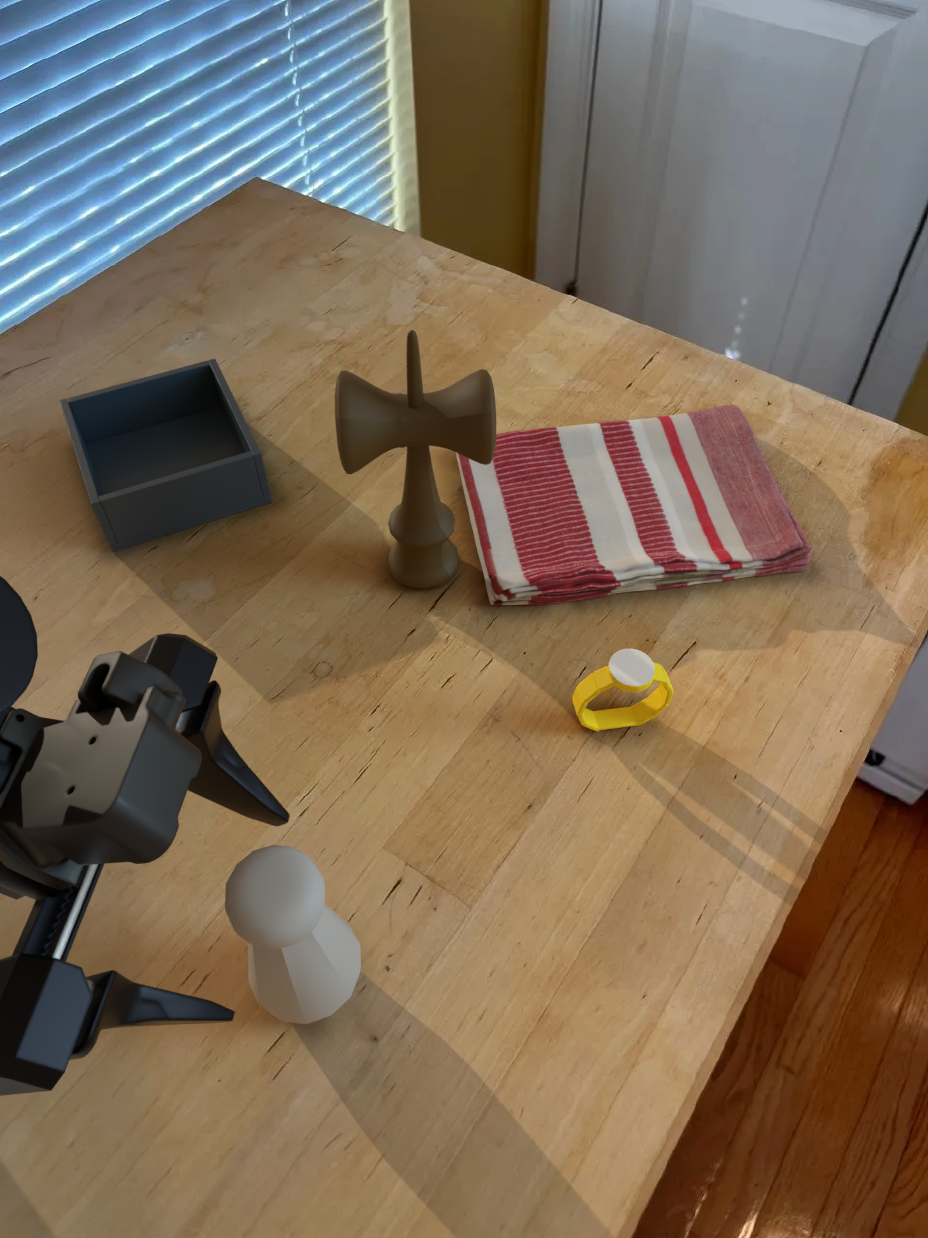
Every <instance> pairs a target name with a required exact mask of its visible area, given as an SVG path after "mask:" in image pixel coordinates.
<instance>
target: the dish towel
mask: <svg viewBox="0 0 928 1238" xmlns="http://www.w3.org/2000/svg"><path fill="white" fill-rule="evenodd" d="M454 453H455V457H456V461H457V465H458V469H459V475H460V480H461V485H462V490H463V494H464V498H465V502H466V503H465V504H466V507H467V510H468V515H469V520H470V525H471V529H472V532H473V538H474V543H475V546H476V550H477V555H478V559H479V562H480V566H481V569H482V574H483V578H484V583H485V587H486V588H485V589H486V593H487V597H488V601H489V604H490V605H492V606H518V605H519V606H520V605H528V606H531V605H536V606H537V605H538V606H539V605H550V604H559V603H567V602H575V601H583V600H591V599H597V598H603V597H607V596H610V595H615V594H618V593H629V592H630V593H631V592H643V591H644V592H645V591H653V590H654V591H655V590H665V589H672V588H679V587H681V588H682V587H688V586H692V585H700V584H709V583H717V582H718V583H719V582H726V581H732V580H737V579H746V578H751V577H764V576H770V575H775V574H784V573H798V572H804V571H807V569H808V565H807V564H809V562H810V560H809V557H810V555H812V552H811V550H812V549H813V546H812V545H811V544H810V542H809V539H807V536H806V534H805V533H804V531H803V528H802V527H801V525H800V524H799V522H798V521H797V518H796V517H795V515H794V513H793V512H792V510H791V508H790V507H789V505H788V503H787V502H786V500H785V498H784V496H783V494H782V492H781V491H780V489H779V486H778V484H777V482H776V480H775V478H774V476H773V475H772V473H771V471H770V469H769V466H768V464H767V463H766V460H765V458H764V455H763V453H762V450H761V448H760V446H759V444H758V441H757V438H756V436H755V434H754V431H753V429H752V426H751V425H750V423H749V421H748V419H747V417H746V415H745V414H744V412H743V411H742V409H741V408H740V407H739V405H737V404H725V405H720V406H715V407H711V408H705V409H701V410H694V411H690V412H683V413H677V414H670V415H660V416H654V417H649V418H647V417H646V418H636V419H630V420H629V419H627V420H626V419H624V420H623V419H622V420H621V419H620V420H606V421H599V422H594V423H582V424H571V425H565V426H551V427H540V428H532V429H522V430H521V429H520V430H514V431H506V432H501V433H496V446H495V452H494V456H493V459H492V461H491V463H490V464H487V465H484V464H480V463H478V462H475V461H473V460H471V459H469V458H467V457H465V456H463V455H460V454H458V453H456V452H454Z"/></svg>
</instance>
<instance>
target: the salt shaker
mask: <svg viewBox="0 0 928 1238" xmlns="http://www.w3.org/2000/svg"><path fill="white" fill-rule="evenodd" d="M325 884H326V883H325V878H324V877H323V875H322V873H321V871H320V870H319V868H318V866H317V864H316V862H315V861H314V860H313V859H312V858H311V857H310V856H309V855H308V854H306V853H304V852H303V851H301V850H300V849H298V848H296V847H295V846H289V845H281V844H272V845H271V844H270V845H268V846H264V847H261V848H258V849H255V850H252V851H251V852H250V853H248V854H247V855H246V856H245V857H243V859H241V860H240V861H239V862H238V863H236V864H235V866H234V868H233V869H232V871H231V873H230V876H228V879H227V881H226V883H225V890H224V891H225V893H224V895H225V896H224V898H225V899H224V909H225V914H226V916H227V918H228V920H229V922H230V925H231V926H232V929H233V931H234V932H235V933H236V935H237V936H238V937H240V938H242V939H243V940H244V941H246V942H247V946H248V947H247V949H248V950H247V953H248V954H247V955H248V956H247V967H248V968H247V971H248V972H247V974H248V975H247V981H248V985H249V986H250V989H251V991H252V993H253V995H254V998H255V1000H256V1002H257V1005H258V1006H260V1007H261V1008H262V1009H264V1010H265V1011H266V1012H268V1013H269V1014H271V1015H272V1016H273V1017H275V1018H276V1019H277V1020H279V1021H280V1022H285V1023H290V1024H291V1023H292V1024H299V1025H309V1024H311V1023H315V1022H317V1021H320V1020H323V1019H326V1018H328V1017H332V1015H333V1014H335V1012H337V1011H338V1010H339V1009H340V1008H341V1007H342V1006H343V1005H344V1004H345V1003H346V1002H348V1000H349V999H350V998H352V995H353V992H354V989H355V987H356V984H357V983H358V980H359V977H360V975H361V971H362V963H361V961H362V959H361V943H360V941H359V940H358V938H357V936H356V935H355V933H354V931H353V929H352V928H351V926H350V924H349V922H347V921H346V920H345V919H344V918H342V917H341V916H340V915H339V914H338V913H337V912H336V911H334V909H332V908H331V907H330V906H329V905H328V904H326V885H325Z"/></svg>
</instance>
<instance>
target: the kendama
mask: <svg viewBox="0 0 928 1238" xmlns="http://www.w3.org/2000/svg"><path fill="white" fill-rule="evenodd" d="M406 335H407V336H406V353H405V355H406V393H401V392H398V393H393V392H389V391H386V390H385V389H382V388H379V387H378V386H376V385H374V384H372V383H371V382H369V381H367V380H366V379H364V378H362V377H361V376H358V375H357V374H355V373H353V372H351V371H349V370H346V369H343V370H340V372H339V373H338V375H337V377H336V382H335V389H334V422H335V423H334V424H335V434H336V443H337V451H338V455H339V459H340V463H341V466H342V469H343V471H344V472H345V474H346V475H353V474H355V473H357V472H358V471H360V470H362V469H363V468H365V467H366V466H368V465H369V464H370V463H372V462H374V460H376V459H377V458H380V457H382V456H383V455H384V454H385V453H387V452H389V451H392V450H394V449H398V448H401V449H402V448H403V449H404V448H406V454H405V456H406V457H405V471H404V481H403V490H402V495H401V496H402V497H401V501H400V503H399V504H397V505H396V506H395V508H394V509H393V510H392V511H391V512H390V514H389V518H388V522H387V524H388V529H389V533H390V535H391V536H392V537H393V538H394V539H395V540H396V541H395V543H394V544H393V545H392V546H391V548H390V550H389V554H388V557H387V558H388V559H387V563H388V568H389V572H390V574H391V576H392V577H393V578H394V580H396V582H397V583H399V584H401V585H404V586H406V587H408V588H412V589H413V588H414V589H430V588H436V587H437V588H438V587H441V586H442V585H444V584H446V583H448V582H450V581H452V580H453V579H454V577H455V576H456V574H457V573H458V572H459V566H460V561H461V560H460V559H461V557H460V554H459V551H458V547H457V546H456V545H455V544H454V542H452V540H450V537H451V536H452V535H453V533H454V532H455V527H456V518H455V515H454V512H453V510H452V509H451V508H450V507H449V506H448V505H447V504H446V502H442V501H441V498H440V495H439V492H438V487H437V482H436V478H435V472H434V467H433V463H432V457H431V451H430V447H437V448H438V447H439V448H443V449H447V450H449V451H452V452H454V453H455V452H456V453H458V454H460V455H463V456H465V457H467V458H469V459H471V460H473V461H475V462H478V463H480V464H484V465H487V464H490V463H491V461H492V459H493V456H494V452H495V446H496V435H497V405H496V404H497V403H496V393H495V387H494V382H493V378H492V376H491V374H490V373H489V371H488V370H487V369H484V368H481V369H479V370H476V371H473V372H472V373H470V374H468V375H466V376H464V377H463V378H461V379H459V380H458V381H456V382H455V383H452V384H451V385H449V386H447V387H445V388H442V389H440V390H436V391H431V392H425V393H424V386H423V385H424V384H423V374H422V364H421V363H422V362H421V353H420V352H421V351H420V346H419V345H420V344H419V338H418V334H417V331H415V330H414V329H410V330H409V331H408V332H407V334H406ZM456 453H455V454H456Z"/></svg>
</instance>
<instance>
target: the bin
mask: <svg viewBox="0 0 928 1238" xmlns="http://www.w3.org/2000/svg"><path fill="white" fill-rule="evenodd" d="M59 404H60V408H61V411H62V416H63V419H64V421H65V424H66V427H67V431H68V435H69V438H70V439H71V440H70V441H71V443H72V448H73V450H74V454H75V458H76V460H77V463H78V466H79V470H80V473H81V476H82V479H83V483H84V485H85V489H86V492H87V496H88V499H89V502H90V505H91V507H92V510H93V511H94V514H95V516H96V518H97V521H98V523H99V525H100V527H101V530H102V532H103V534H104V536H105V538H106V540H107V543H108V546H109V547H110V550H111V552H112V553H115V552H118V551H123V550H125V549H127V548H131V547H134V546H137V545H141V544H144V543H148V542H149V541H154V540H157V539H160V538H163V537H166V536H170V535H173V534H175V533H178V532H182V531H186V530H188V529H192V528H194V527H198V526H201V525H204V524H208V523H210V522H213V521H217V520H220V519H224V518H226V517H230V516H233V515H236V514H239V513H242V512H246V511H248V510H252V509H254V508H259V507H261V506H264V505H265V506H266V505H268V504H271V503H273V499H272V494H271V490H270V485H269V481H268V476H267V472H266V468H265V464H264V463H265V462H264V459H263V454H262V452H261V449H260V448H259V445H258V443H257V441H256V439H255V437H254V435H253V433H252V431H251V430H250V427H249V424H248V423H247V421H246V419H245V417H244V415H243V413H242V410H241V409H240V406H239V405H238V402H237V401H236V398H235V397H234V394H233V391H232V390H231V388H230V386H229V384H228V381H227V380H226V377H225V376H224V374H223V371H222V369H221V368H220V365H219V363H218V361H217V359H216V358H215V357H214V358H211V359H207V360H204V361H200V362H196V363H193V364H188V365H185V366H181V367H178V368H174V369H170V370H167V371H163V372H159V373H155V374H152V375H148V376H144V377H141V378H137V379H133V380H130V381H126V382H122V383H119V384H115V385H111V386H108V387H104V388H101V389H96V390H92V391H89V392H85V393H81V394H77V395H74V396H71V397H67V398H63V399H59Z"/></svg>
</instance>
